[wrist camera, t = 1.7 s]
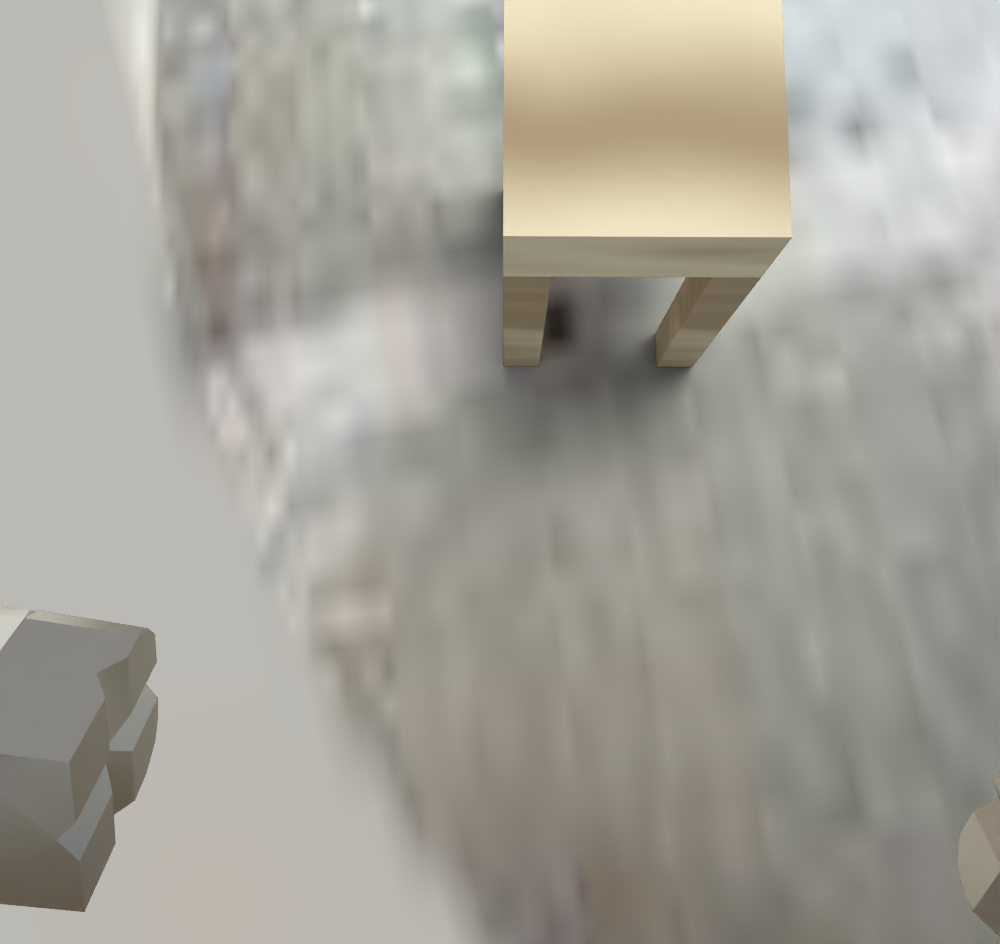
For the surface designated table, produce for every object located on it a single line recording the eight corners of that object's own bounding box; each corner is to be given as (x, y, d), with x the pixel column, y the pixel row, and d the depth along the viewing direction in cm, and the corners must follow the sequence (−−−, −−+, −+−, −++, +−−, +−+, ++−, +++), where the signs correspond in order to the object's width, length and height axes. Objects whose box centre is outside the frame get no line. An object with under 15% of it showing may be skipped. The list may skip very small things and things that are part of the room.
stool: (504, 188, 32) (504, -27, 21) (687, 188, 32) (780, -26, 21) (503, 366, 31) (503, 235, 20) (692, 366, 31) (792, 237, 20)
